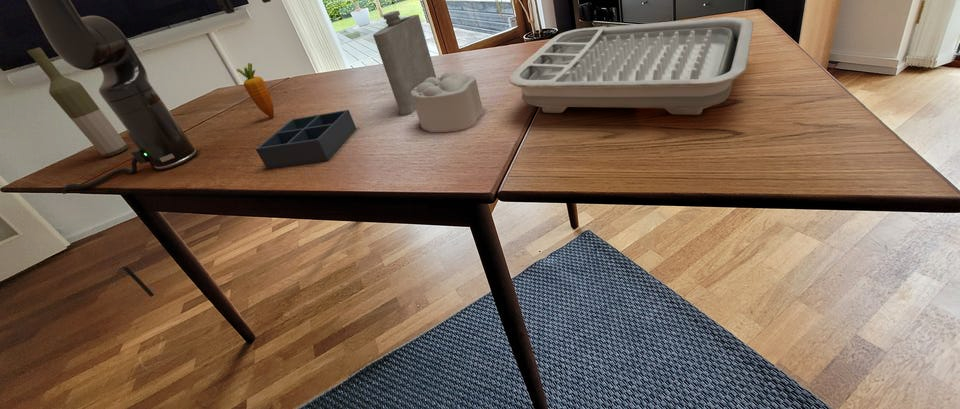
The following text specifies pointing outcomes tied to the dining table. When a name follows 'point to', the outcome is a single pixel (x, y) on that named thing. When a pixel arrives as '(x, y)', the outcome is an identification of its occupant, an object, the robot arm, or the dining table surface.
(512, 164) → the dining table surface
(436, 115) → the lumpy-topped squat cylinder
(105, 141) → the bottle
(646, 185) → the dining table surface
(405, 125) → the dining table surface
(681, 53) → the dish rack
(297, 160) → the four-compartment tray
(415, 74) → the hip flask
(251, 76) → the carrot
